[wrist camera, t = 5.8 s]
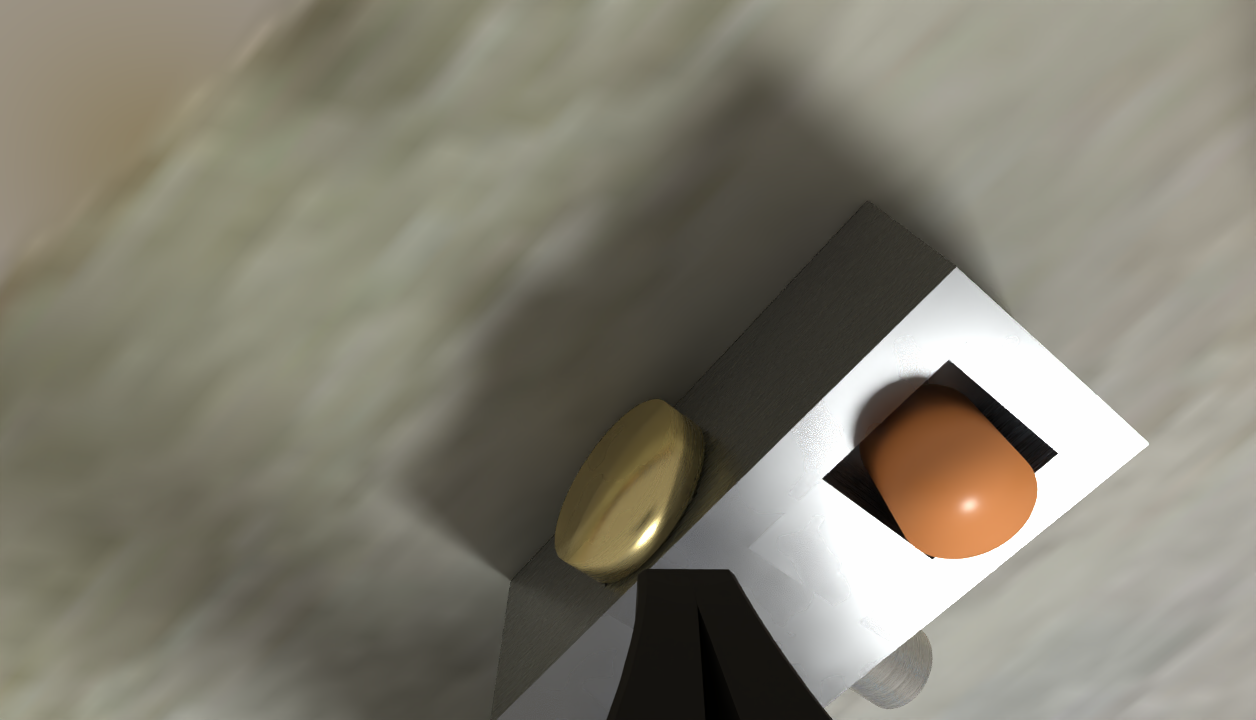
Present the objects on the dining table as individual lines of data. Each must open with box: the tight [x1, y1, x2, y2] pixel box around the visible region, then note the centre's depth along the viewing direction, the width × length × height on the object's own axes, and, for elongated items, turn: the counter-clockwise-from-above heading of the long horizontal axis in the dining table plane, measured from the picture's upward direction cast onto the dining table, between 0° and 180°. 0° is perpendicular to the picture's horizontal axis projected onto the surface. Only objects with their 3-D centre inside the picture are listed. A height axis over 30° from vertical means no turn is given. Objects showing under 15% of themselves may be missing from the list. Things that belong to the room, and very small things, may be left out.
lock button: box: [859, 384, 1038, 560], centre depth 16 cm, size 3×3×2 cm
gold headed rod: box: [555, 399, 932, 709], centre depth 20 cm, size 10×4×4 cm, turn 51°
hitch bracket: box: [491, 201, 1149, 720], centre depth 19 cm, size 6×14×5 cm, turn 141°
